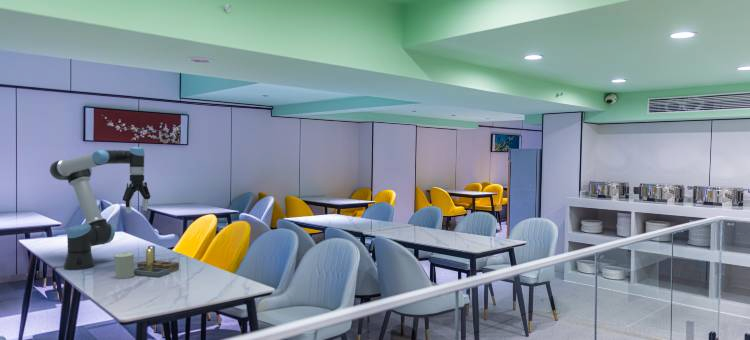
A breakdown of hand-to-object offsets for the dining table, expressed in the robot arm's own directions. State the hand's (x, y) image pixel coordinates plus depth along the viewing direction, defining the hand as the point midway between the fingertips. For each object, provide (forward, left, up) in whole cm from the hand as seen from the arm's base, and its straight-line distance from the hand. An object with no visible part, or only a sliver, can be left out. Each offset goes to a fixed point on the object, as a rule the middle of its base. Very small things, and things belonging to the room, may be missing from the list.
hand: (137, 211), depth 299 cm
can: (+9, -21, -32) cm, 39 cm away
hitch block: (+16, -3, -32) cm, 36 cm away
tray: (+18, -13, -32) cm, 39 cm away
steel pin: (+12, -3, -32) cm, 34 cm away
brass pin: (+18, -12, -31) cm, 38 cm away
